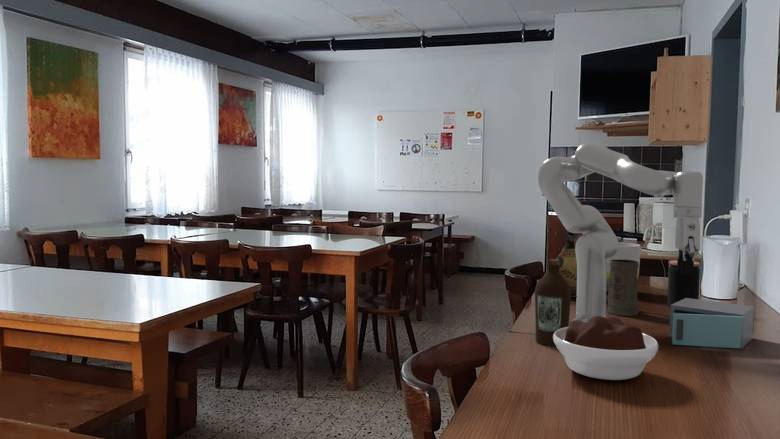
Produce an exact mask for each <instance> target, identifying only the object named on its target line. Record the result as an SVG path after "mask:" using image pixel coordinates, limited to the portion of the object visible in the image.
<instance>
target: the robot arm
mask: <svg viewBox="0 0 780 439" xmlns="http://www.w3.org/2000/svg"><path fill="white" fill-rule="evenodd" d="M594 173H596V174H599V175H601V176H604V177H607V178H610V179H612V180H615V181H616V182H618V183H620V184H622V185H623V186H626V187H628V188H631V189H632V190H635V191H639V192H641V193H644V194H646V195H649V196H670V195H674V196H673V218H675V219H676V220H675V221H676V222H675V232H674V234H675V236H674V245H675V248H676V249H677V259H676V260H677V272H681V274H682V275H693V272H694V261H695V252H700V251H701V224H700V223H701V222H700V219H702V212H703V211H702V206H703V188H704V187H703V186H704V185H703V184H704V176H703V174H702V172H700V171H692V170H691V171H679V172H676V171H670V170H669V171H668V170H656V169H653V168H649V167H646V166H644V165H641V164H639V163H636V162H634V161H633V160H631V159H630V158H629V156H628V155H626V154H624V153H621V152H619V151H618V152H617V151H615V150H612V149H609V147H607V146H606V145H605V144H602V143H594V142H586V143H585V142H584V143H582V144H581V145H579V146H578V147H577V149H576V150H575V152H574V155H572V156H571V157H570V156H569V157H567V156H552V157H549V158H547V159H545V160H544V161H543V162H542V163H541V165H540V167H539V169H538V173H537V181H538V187H539V188H540V191H541V193H542V194H543V196H544V197H545V199H546V201H547V202H548V204H549V205H550V206H551V208H552V210H553V211H554V212H555V214H556V216H557V218H558V219H559V221H560V222H561V224H562V226H563V227H564V228H565V230H566V232H567V231H569V232H571V233H578V234H582V235H580V237H578V239H577V240H576V242H575V252H576V259H577V297H576V298H575V299H576V304H575V305H576V308H575V317H574V318H573V319H571V320H570V321H574V320H579V321H582V322H588V321H589V320H590V319H591V318H592V317H594V316H602V317H605V318H607V317H606V316H607V293H608V292H607V268H606V263H605V258H609V257H612V256H613V255H615V253H616V252H617V250H618V247H619V244H618V242H619V240H618V237H617V236H616V234H615V233H614V231H613V229H612V227H611V226H610V225H609V223H608V222H607V220H606V219H605V218H604V216H603V215H602V213H601V211H599V210H598V209H597V208H596V207H594V206H592V205H588V204H581V203H580V201H579V200H578V198H577V197H576V196H575V194H574V192H573V191H572V190H571V189H570V187H568V186H567V185H566V183H565V182H574V181H576V180H579V179H582V178H584V177H587V176H589V175H591V174H594Z"/></svg>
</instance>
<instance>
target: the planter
mask: <svg viewBox="0 0 780 439" xmlns="http://www.w3.org/2000/svg"><path fill="white" fill-rule="evenodd" d="M618 244H619V247H618V250H617V252H616V253H615V255H613V256H612V257H609V258H605V263H606V268H607V293H608V289H609V277H610V261H611V260H618V259H621V260H634V261H638V264H639V268H638V273H637V281H639V280H638V279H639V275H640V263H641V245H640V244H638V243H632V242H619V241H618Z"/></svg>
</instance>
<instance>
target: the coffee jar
mask: <svg viewBox="0 0 780 439" xmlns="http://www.w3.org/2000/svg"><path fill="white" fill-rule="evenodd" d="M668 263H669V265H670V266H669V267H668V282H667V283H668V284H667V306H668V307H669V308H670V305H672V304H674V303H676V302H678V301H680V300H682V299H685V298H691V299H699V298H700V297H699V296H700V278H701V277H700V276H701V275H700V274H701V273H700V272H701V270H700V265H701V263H700V262H699V261H695V260H694V272H693V275H682V274H681V272H677V259H676V260H669V261H668ZM699 300H700V299H699Z"/></svg>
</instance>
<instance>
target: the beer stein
mask: <svg viewBox="0 0 780 439" xmlns="http://www.w3.org/2000/svg"><path fill="white" fill-rule="evenodd" d="M638 268H639V269H640V266H639V264H638V261H634V260H621V259H618V260H611V261H610V277H609V289H608V292H607V293H608V294H607V304H608V305H607V308H606V313H609V314H610V315H614V316H620V315H621V316H623V317H633V316H638V315H639V309H638V307H639V303H638V280H637V273H638Z"/></svg>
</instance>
